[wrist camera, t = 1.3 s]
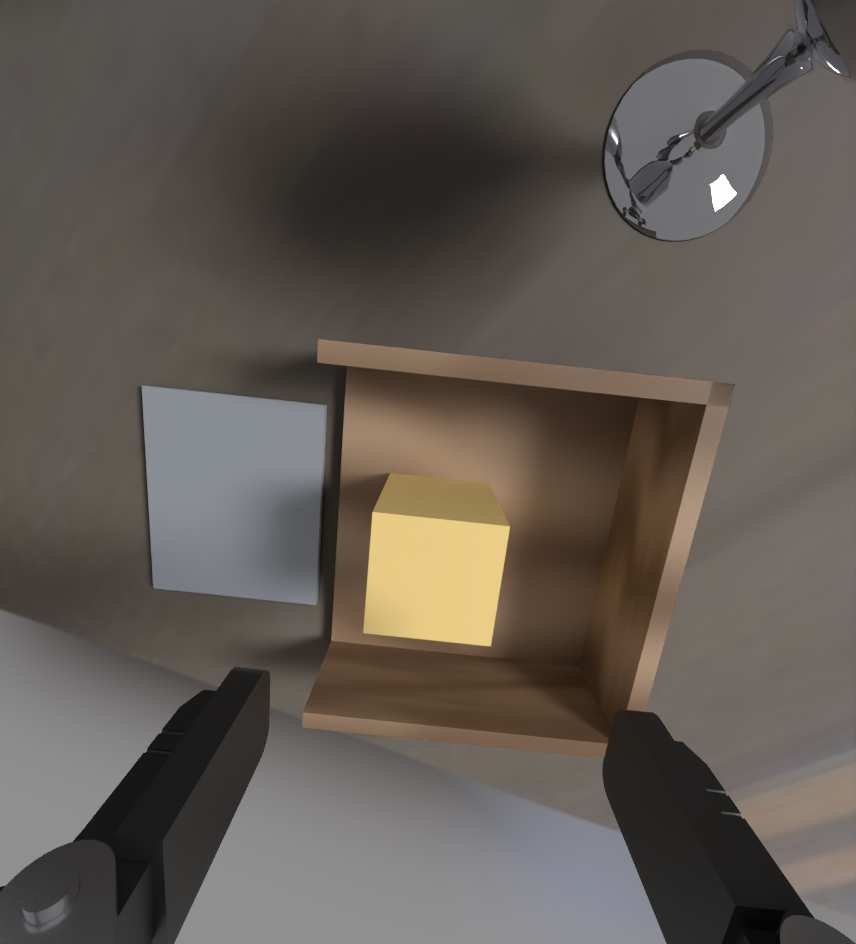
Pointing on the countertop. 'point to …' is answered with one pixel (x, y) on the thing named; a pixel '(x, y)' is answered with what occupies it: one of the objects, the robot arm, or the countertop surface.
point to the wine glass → (714, 124)
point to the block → (435, 560)
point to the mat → (234, 493)
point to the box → (520, 542)
